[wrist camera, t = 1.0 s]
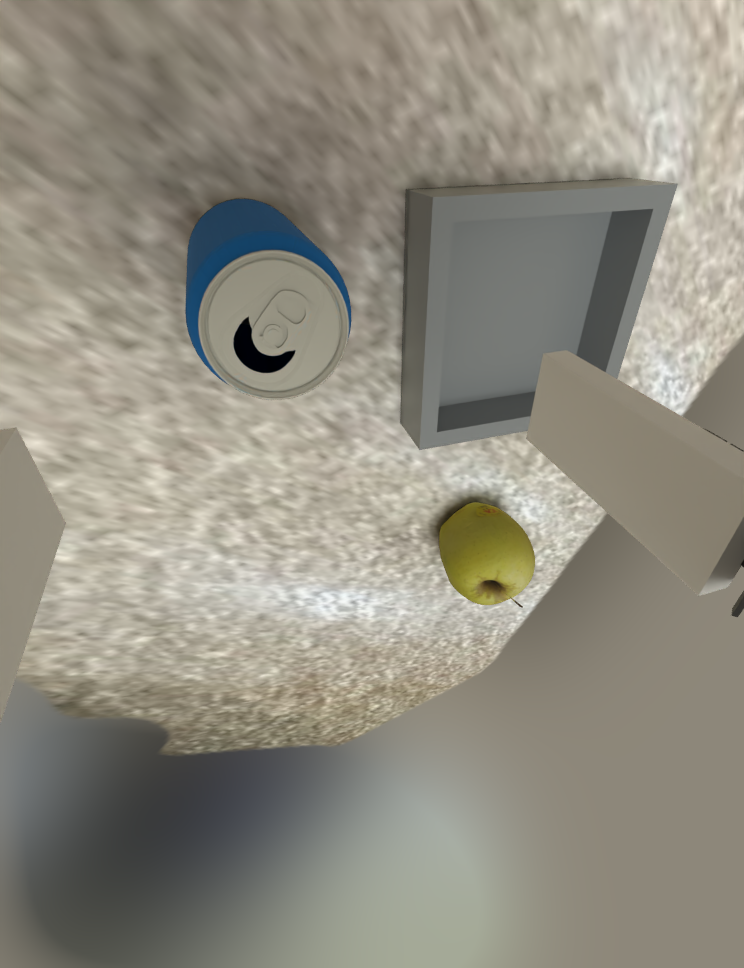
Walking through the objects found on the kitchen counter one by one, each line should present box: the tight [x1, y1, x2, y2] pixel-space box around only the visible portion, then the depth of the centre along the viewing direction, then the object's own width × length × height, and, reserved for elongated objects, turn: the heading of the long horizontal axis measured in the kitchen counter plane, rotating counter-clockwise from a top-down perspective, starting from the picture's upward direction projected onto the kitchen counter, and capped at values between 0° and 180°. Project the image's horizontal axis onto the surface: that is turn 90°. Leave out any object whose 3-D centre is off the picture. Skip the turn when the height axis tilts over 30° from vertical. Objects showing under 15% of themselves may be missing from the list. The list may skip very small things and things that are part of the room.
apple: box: [439, 502, 535, 607], centre depth 42 cm, size 8×8×10 cm
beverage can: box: [186, 199, 351, 400], centre depth 23 cm, size 6×6×12 cm
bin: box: [401, 178, 678, 450], centre depth 32 cm, size 15×15×4 cm
